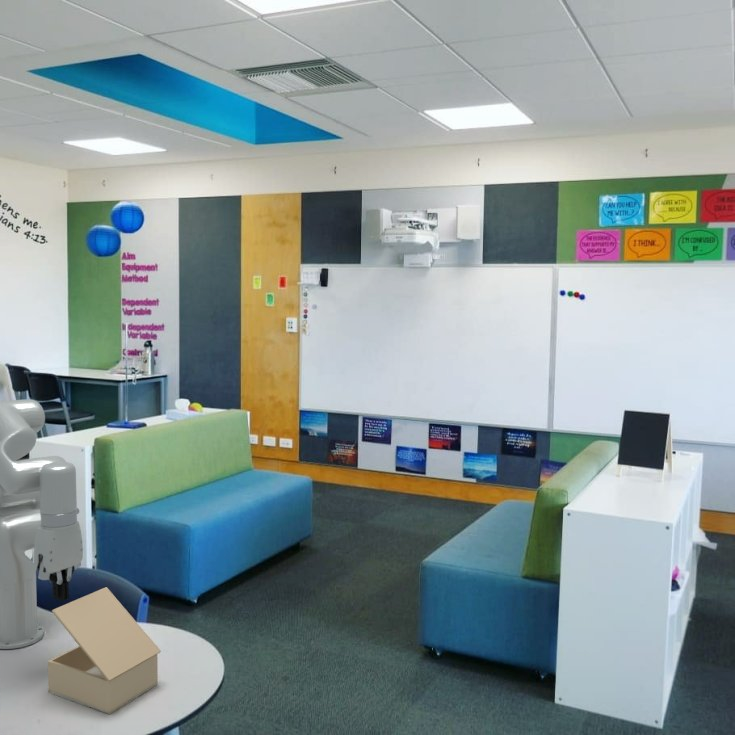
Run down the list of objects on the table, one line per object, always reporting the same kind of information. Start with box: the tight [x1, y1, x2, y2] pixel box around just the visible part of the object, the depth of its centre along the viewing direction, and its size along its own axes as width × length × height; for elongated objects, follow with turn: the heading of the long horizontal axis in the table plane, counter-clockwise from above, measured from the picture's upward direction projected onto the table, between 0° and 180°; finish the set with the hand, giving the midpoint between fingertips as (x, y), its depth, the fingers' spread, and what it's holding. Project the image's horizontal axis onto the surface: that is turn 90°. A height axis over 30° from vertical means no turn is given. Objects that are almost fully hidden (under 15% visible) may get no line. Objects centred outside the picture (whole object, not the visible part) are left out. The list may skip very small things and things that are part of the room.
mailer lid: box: [51, 586, 162, 682], centre depth 168 cm, size 20×15×1 cm
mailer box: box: [47, 645, 159, 715], centre depth 170 cm, size 18×14×7 cm
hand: (60, 598), depth 174 cm, fingers closed
